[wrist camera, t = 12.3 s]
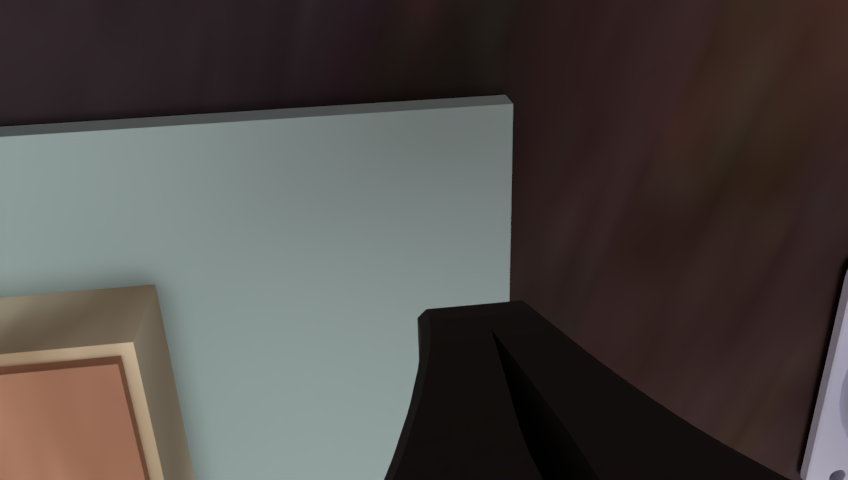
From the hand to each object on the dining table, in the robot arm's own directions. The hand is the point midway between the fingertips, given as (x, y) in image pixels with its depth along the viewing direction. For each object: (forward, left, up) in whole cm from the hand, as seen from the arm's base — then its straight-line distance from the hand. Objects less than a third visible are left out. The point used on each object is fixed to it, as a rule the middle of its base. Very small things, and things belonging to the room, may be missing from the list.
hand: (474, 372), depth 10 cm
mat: (+6, +6, -9) cm, 13 cm away
